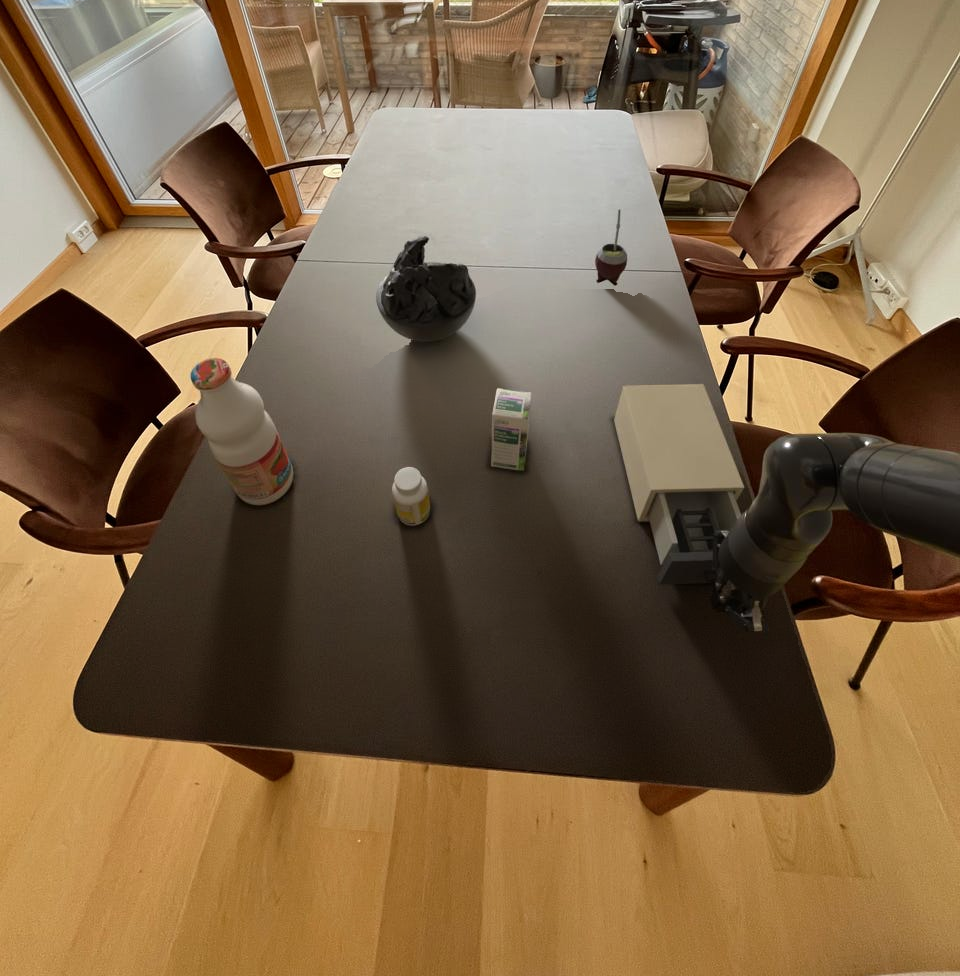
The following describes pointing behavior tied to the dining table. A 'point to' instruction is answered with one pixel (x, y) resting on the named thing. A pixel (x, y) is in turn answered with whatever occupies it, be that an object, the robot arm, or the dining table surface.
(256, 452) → the fruit juice
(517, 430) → the syrup box
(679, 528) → the rack
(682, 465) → the cream drawer box
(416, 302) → the coal bowl
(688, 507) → the two-tone hollow box
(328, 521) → the dining table surface
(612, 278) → the mate gourd
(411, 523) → the supplement bottle
